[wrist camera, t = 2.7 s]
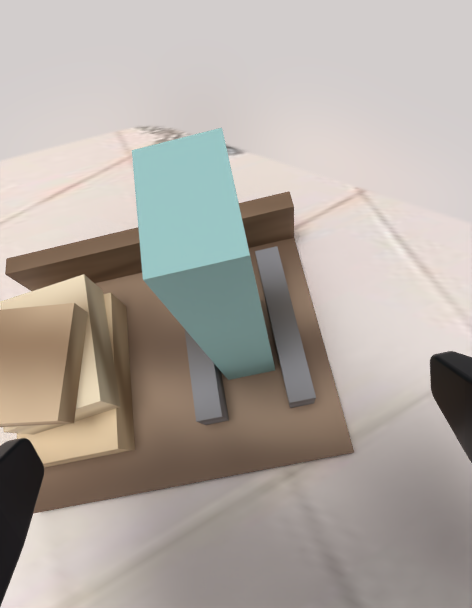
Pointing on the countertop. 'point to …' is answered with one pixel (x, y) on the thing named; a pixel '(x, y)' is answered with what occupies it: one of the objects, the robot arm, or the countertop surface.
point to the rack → (158, 372)
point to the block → (200, 250)
